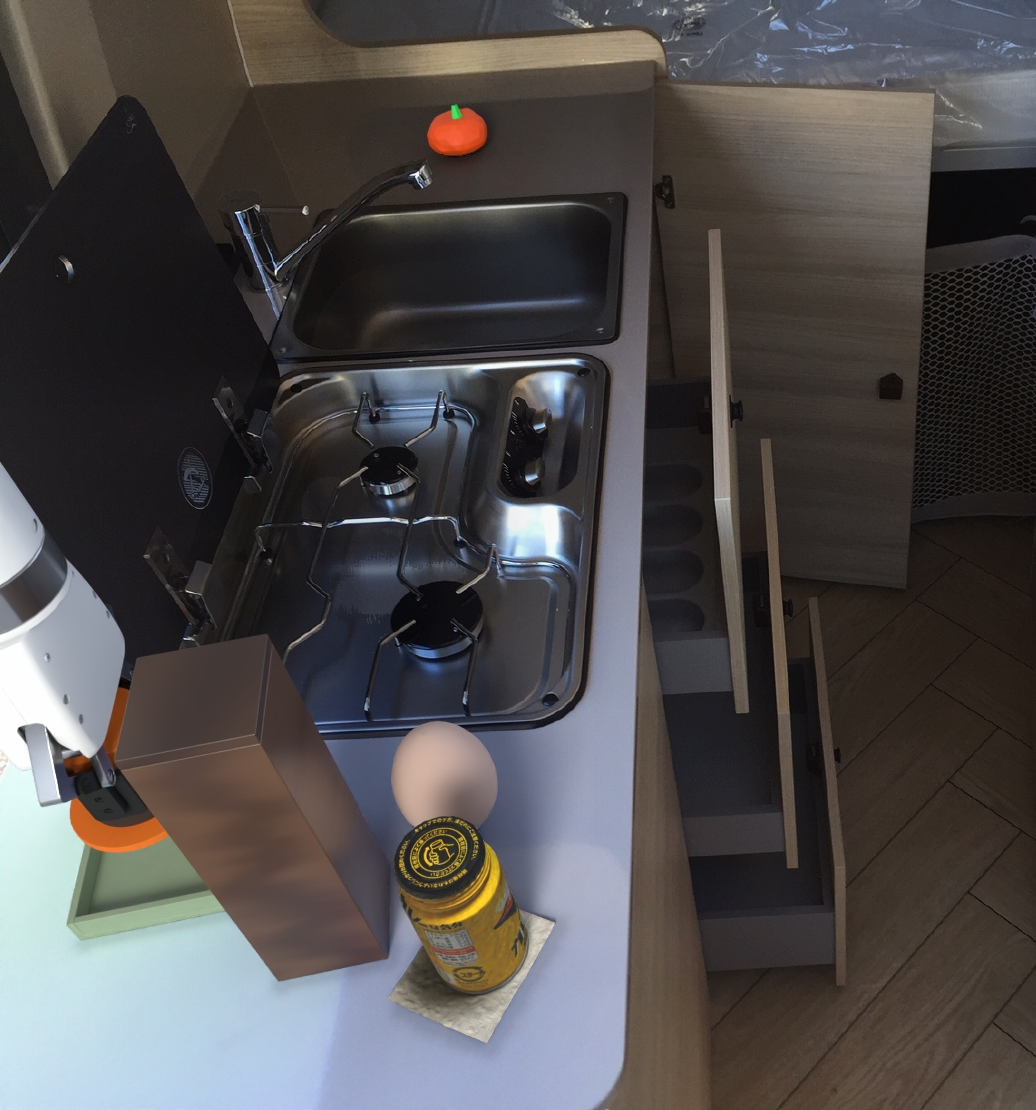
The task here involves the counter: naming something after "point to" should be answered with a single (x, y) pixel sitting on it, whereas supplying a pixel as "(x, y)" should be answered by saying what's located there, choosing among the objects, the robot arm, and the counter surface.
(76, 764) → the hat
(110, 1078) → the counter surface
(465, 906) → the condiment
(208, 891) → the tray
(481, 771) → the egg
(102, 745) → the robot arm
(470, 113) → the pumpkin
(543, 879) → the counter surface
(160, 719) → the stand
